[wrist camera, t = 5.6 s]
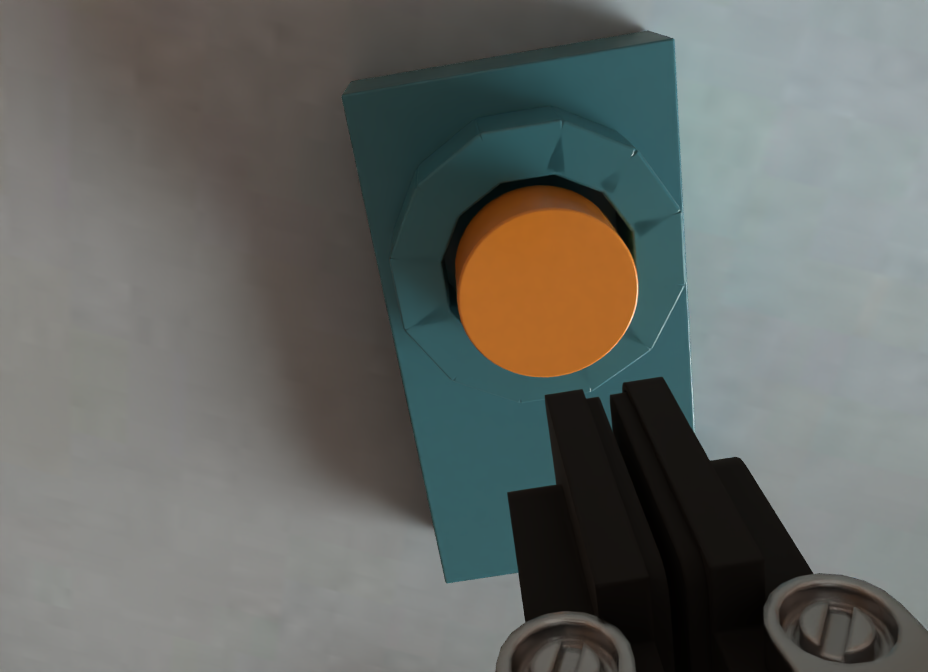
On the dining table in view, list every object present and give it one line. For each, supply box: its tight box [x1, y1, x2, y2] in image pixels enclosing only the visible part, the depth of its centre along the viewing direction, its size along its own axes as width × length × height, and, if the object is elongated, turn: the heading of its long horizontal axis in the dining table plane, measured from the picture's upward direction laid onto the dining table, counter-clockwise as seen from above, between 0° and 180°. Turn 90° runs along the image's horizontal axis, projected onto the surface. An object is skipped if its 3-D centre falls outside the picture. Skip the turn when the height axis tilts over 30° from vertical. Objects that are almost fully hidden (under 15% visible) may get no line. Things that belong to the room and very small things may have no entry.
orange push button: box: [455, 185, 638, 377], centre depth 19 cm, size 4×4×2 cm
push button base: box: [342, 31, 695, 583], centre depth 23 cm, size 15×8×4 cm, turn 9°
